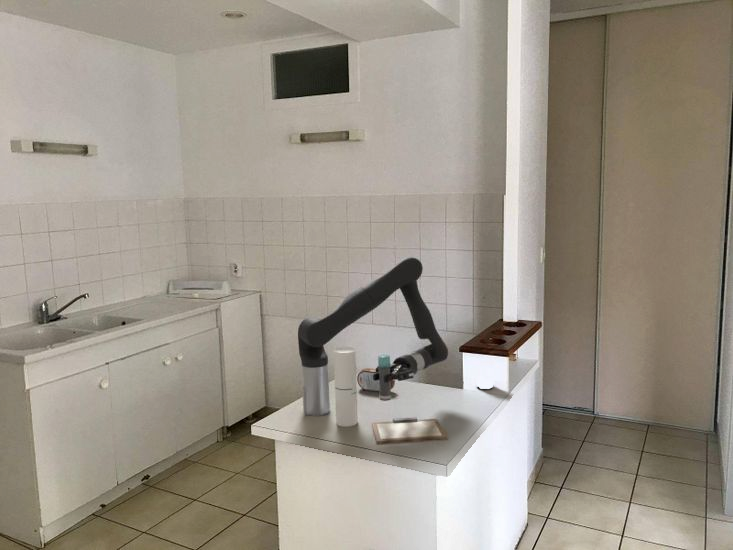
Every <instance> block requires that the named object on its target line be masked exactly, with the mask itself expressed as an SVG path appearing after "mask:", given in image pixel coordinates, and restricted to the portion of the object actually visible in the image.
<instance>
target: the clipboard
mask: <svg viewBox="0 0 733 550" xmlns="http://www.w3.org/2000/svg"><path fill="white" fill-rule="evenodd" d="M371 427H372V430H373V431H372V432H373V436H374V440H375V443H376V444H377V445H378V444H393V443H407V442H409V443H410V442H423V441H426V440H427V441H439V440H438V439H443V440H448V436H447V434H446V432H445V430H444V429H443V427H442V425H441V422H440V421H439V419H438V418H429V419H418V417H416V416H414V417H413V416H412V417H400V418H398V417H396V418H392V421H379V422H377V421H376V422H371Z"/></svg>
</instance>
